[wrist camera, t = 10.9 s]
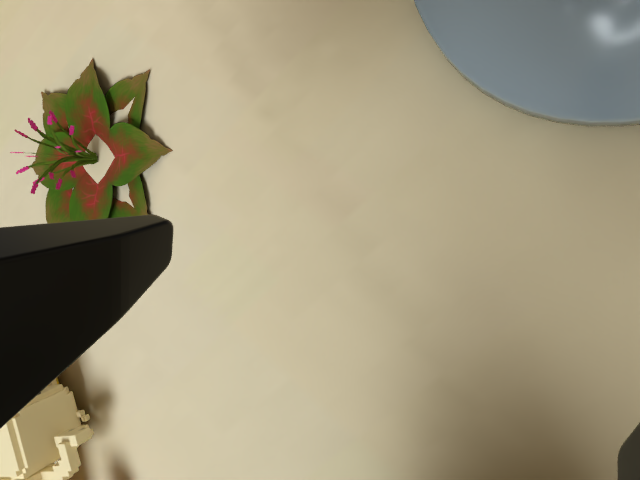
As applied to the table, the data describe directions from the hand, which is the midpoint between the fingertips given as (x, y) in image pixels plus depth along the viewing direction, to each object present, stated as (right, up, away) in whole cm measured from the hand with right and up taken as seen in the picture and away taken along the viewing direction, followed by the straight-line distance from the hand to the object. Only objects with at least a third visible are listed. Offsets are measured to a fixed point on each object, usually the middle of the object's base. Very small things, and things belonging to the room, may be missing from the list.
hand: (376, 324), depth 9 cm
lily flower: (-14, +6, +20) cm, 25 cm away
